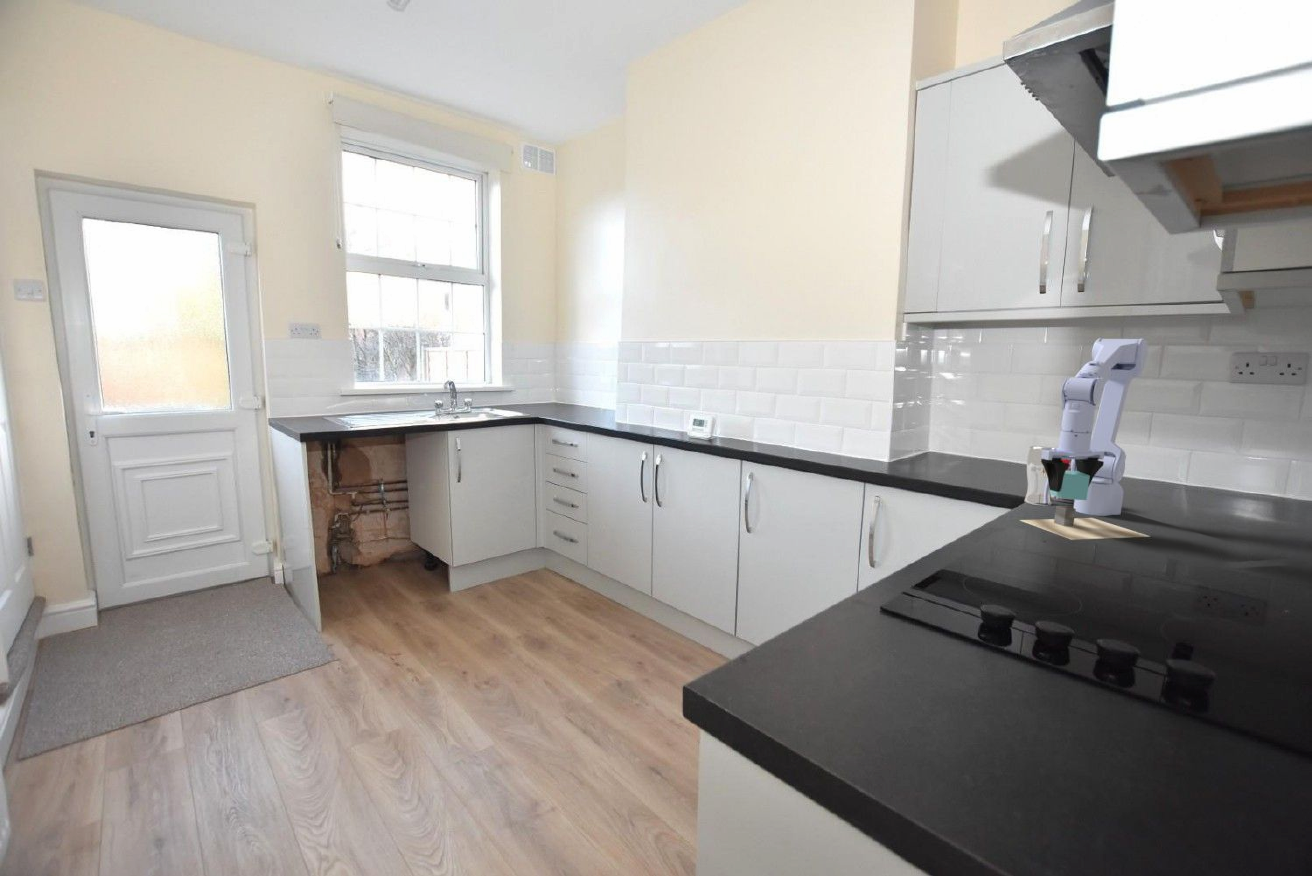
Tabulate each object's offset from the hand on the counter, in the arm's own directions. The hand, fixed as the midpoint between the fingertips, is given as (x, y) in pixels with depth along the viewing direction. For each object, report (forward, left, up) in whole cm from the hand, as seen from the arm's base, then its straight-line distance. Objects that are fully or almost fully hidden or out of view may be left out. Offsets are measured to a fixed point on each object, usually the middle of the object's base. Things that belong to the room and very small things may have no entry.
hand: (1068, 490), depth 133 cm
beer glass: (-13, -21, -9) cm, 26 cm away
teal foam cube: (0, 0, -1) cm, 1 cm away
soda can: (-23, -23, -9) cm, 34 cm away
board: (-2, +3, -9) cm, 10 cm away
